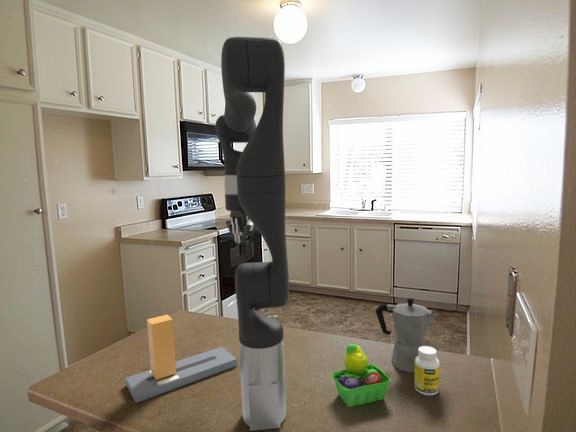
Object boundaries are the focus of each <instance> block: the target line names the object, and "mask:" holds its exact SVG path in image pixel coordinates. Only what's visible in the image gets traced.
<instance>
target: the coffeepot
mask: <svg viewBox="0 0 576 432" xmlns="http://www.w3.org/2000/svg"><path fill="white" fill-rule="evenodd" d="M406 301H407V303H397V304H396V305H395V304H386V303H385V304H384V303H381V304H379V306H378V307H377V308H376V309H375V314H376V316H377V319H378V322H379V325H380V328H381V331H382V333H383V334H384V335H391V334H392V331H390V330H388V329H387V324H386V322H385V316H384V313H383V312H387V313H390V314H392V319H393V324H394V332H395V334H396V338H395V340H394V345H393V346H394V347H393V350H392V355H391V363H392V365H393V366H394V367H395V368H396V369H398V370H399V371H401V372H405V373H410V374H415V358H416V357H417V356H418V349H419V347H421V346H426V344H425V341H424V337H425V336H426V334H427V329H428V326H429V325H430V324H431V322H432V321H433V319H434V318H435V317H437V316H439V315H438V312H436V311H434V310H431V309H428V308H427V307H426V306H424V305H419V304H415V303H414V298H412V297H407V298H406Z"/></svg>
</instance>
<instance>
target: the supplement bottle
mask: <svg viewBox="0 0 576 432" xmlns="http://www.w3.org/2000/svg"><path fill="white" fill-rule="evenodd" d="M437 353H438V352H437V349H436V348H434V347H432V346H428V345H425V346H421V347H419V349H418V356H417V357H416V358H415V373H414V379H413V380H414V382H413V386H414V389H415V390H416V391H417V392H418V393H419V394H422V395H425V396H436V395H437V394H438V393H439V392H440V391H439V389H440V371H441V369H440V367H441V365H440V361H439V359H438V358H437V356H438V355H437Z"/></svg>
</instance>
